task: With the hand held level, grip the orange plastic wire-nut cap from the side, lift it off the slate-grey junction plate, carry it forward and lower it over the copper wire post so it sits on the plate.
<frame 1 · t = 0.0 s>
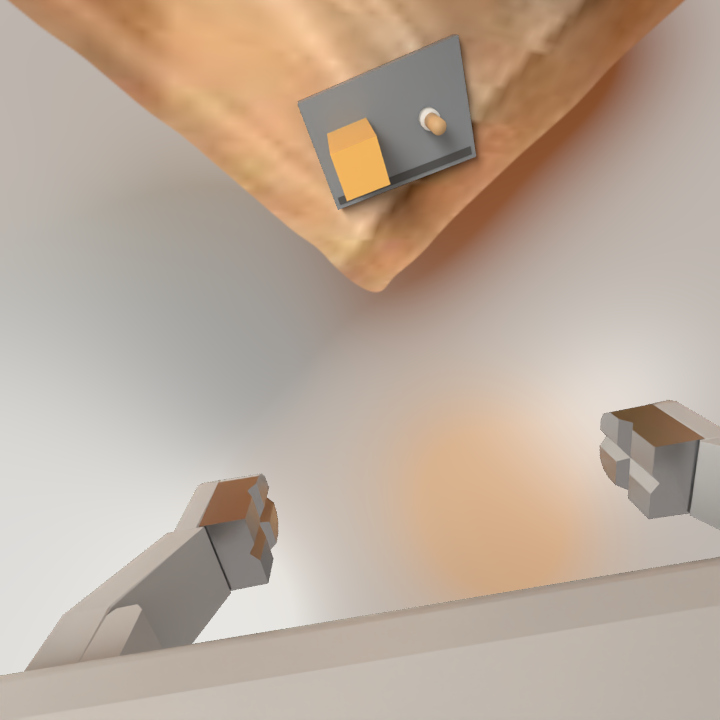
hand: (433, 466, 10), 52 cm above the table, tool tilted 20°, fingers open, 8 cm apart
wire nut cap: (353, 147, 51), point 2 cm above the table, touching junction plate
junction plate: (389, 128, 52), on the table
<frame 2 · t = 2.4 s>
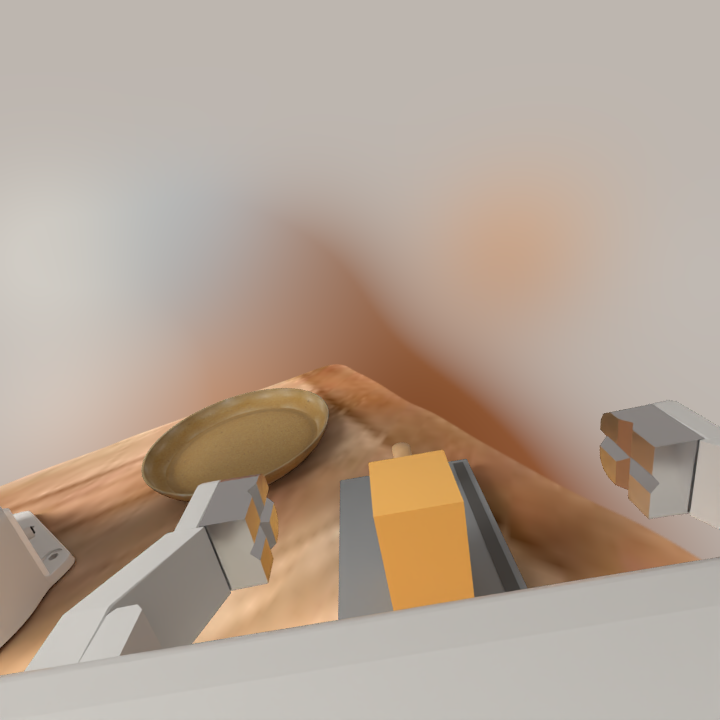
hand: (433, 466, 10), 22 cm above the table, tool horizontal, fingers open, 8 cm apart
wire nut cap: (430, 597, 28), point 2 cm above the table, touching junction plate
plant saucer: (246, 452, 55), on the table
junction plate: (421, 560, 34), on the table
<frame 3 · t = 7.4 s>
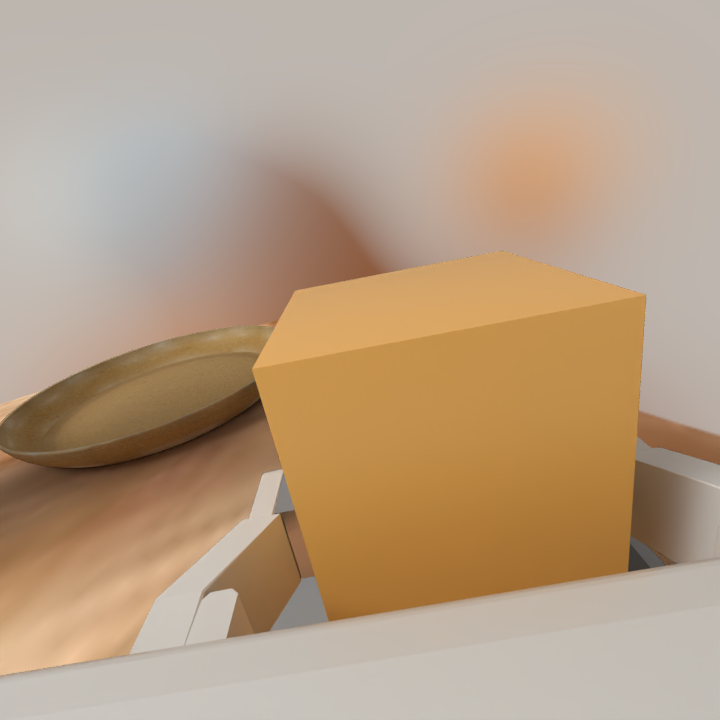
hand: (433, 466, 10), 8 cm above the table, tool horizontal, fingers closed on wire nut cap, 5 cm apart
wire nut cap: (465, 655, 11), point 2 cm above the table, touching gripper, junction plate
plant saucer: (171, 405, 38), on the table
junction plate: (435, 560, 16), on the table
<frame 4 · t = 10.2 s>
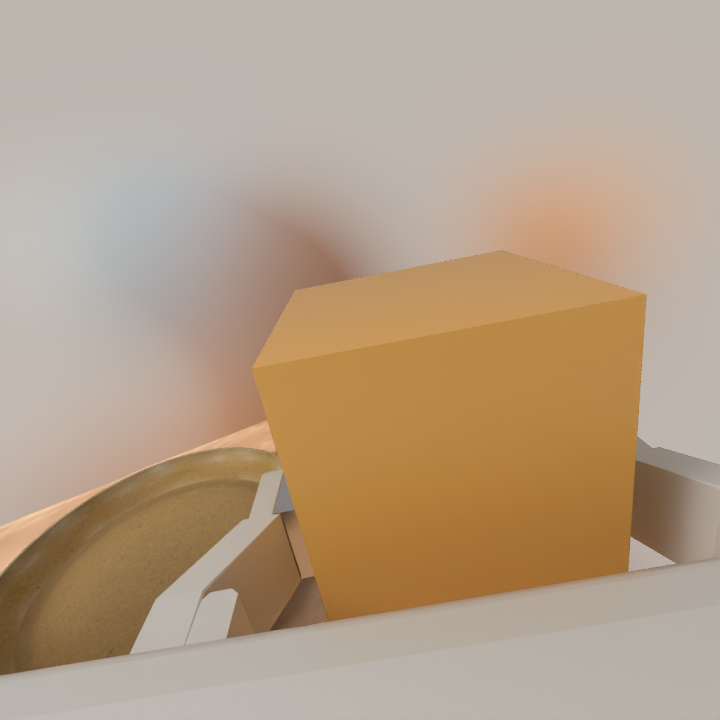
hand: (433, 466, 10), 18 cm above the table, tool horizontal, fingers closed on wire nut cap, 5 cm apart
wire nut cap: (465, 655, 11), point 12 cm above the table, touching gripper
plant saucer: (169, 571, 33), on the table
when the fingers open (9 cm above the table, at t = 13.1 s): wire nut cap drops 1 cm, resting on junction plate.
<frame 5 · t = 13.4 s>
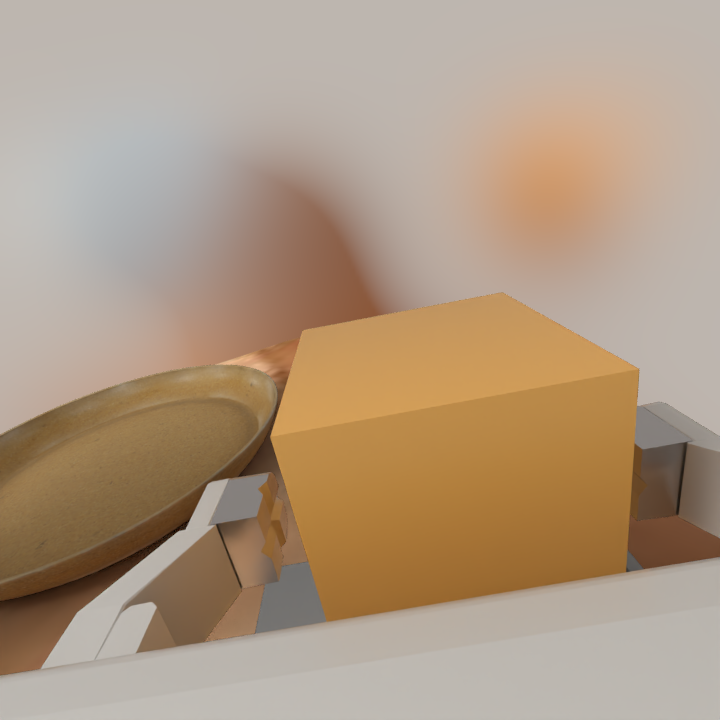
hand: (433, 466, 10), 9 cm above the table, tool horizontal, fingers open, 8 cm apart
wire nut cap: (466, 679, 11), point 2 cm above the table, touching junction plate
plant saucer: (124, 477, 30), on the table
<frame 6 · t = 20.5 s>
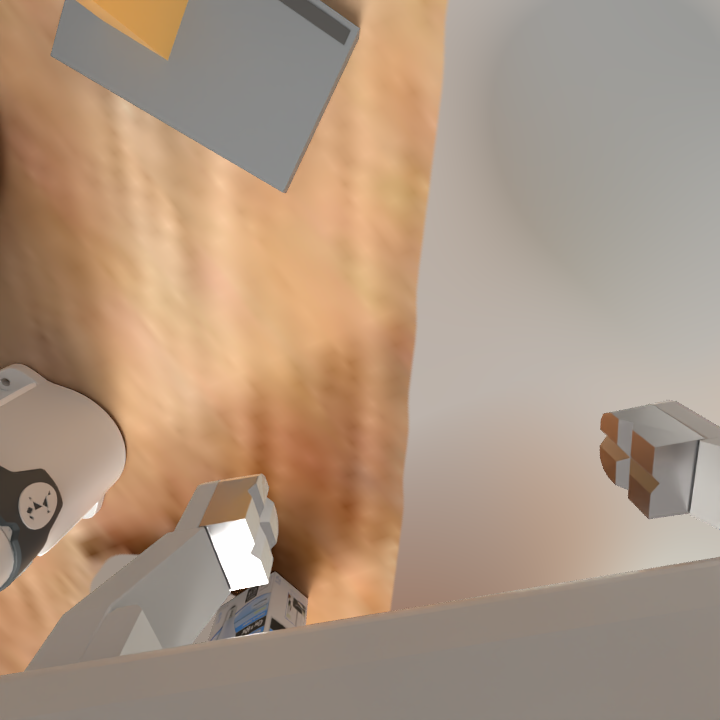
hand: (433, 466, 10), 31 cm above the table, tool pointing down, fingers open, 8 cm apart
light bulb box: (263, 602, 54), on the table
wire nut cap: (146, 4, 30), point 2 cm above the table, touching junction plate
junction plate: (213, 51, 32), on the table
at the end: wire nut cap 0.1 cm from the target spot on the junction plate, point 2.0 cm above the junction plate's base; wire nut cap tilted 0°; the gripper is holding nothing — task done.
